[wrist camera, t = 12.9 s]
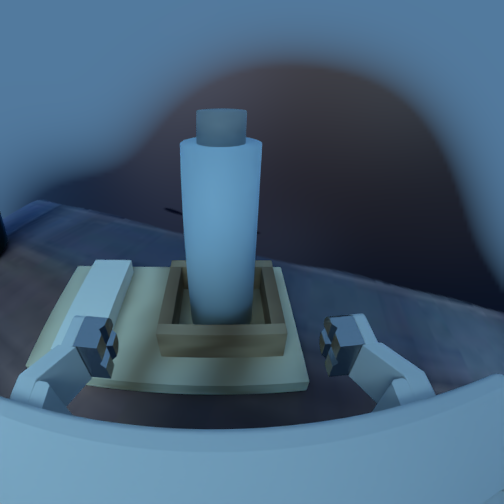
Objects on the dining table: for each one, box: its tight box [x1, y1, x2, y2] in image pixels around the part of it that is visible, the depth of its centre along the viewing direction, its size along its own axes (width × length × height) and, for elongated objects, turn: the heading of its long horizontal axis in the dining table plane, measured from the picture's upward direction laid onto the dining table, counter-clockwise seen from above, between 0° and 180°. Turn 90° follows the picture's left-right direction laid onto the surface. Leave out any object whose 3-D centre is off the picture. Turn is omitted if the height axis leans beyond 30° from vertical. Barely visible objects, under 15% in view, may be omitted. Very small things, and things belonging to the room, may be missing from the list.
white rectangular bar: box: [51, 260, 134, 350], centre depth 24 cm, size 4×12×2 cm, turn 4°
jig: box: [26, 260, 309, 395], centre depth 24 cm, size 22×14×4 cm, turn 94°
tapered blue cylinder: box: [180, 109, 262, 325], centre depth 21 cm, size 5×5×16 cm
